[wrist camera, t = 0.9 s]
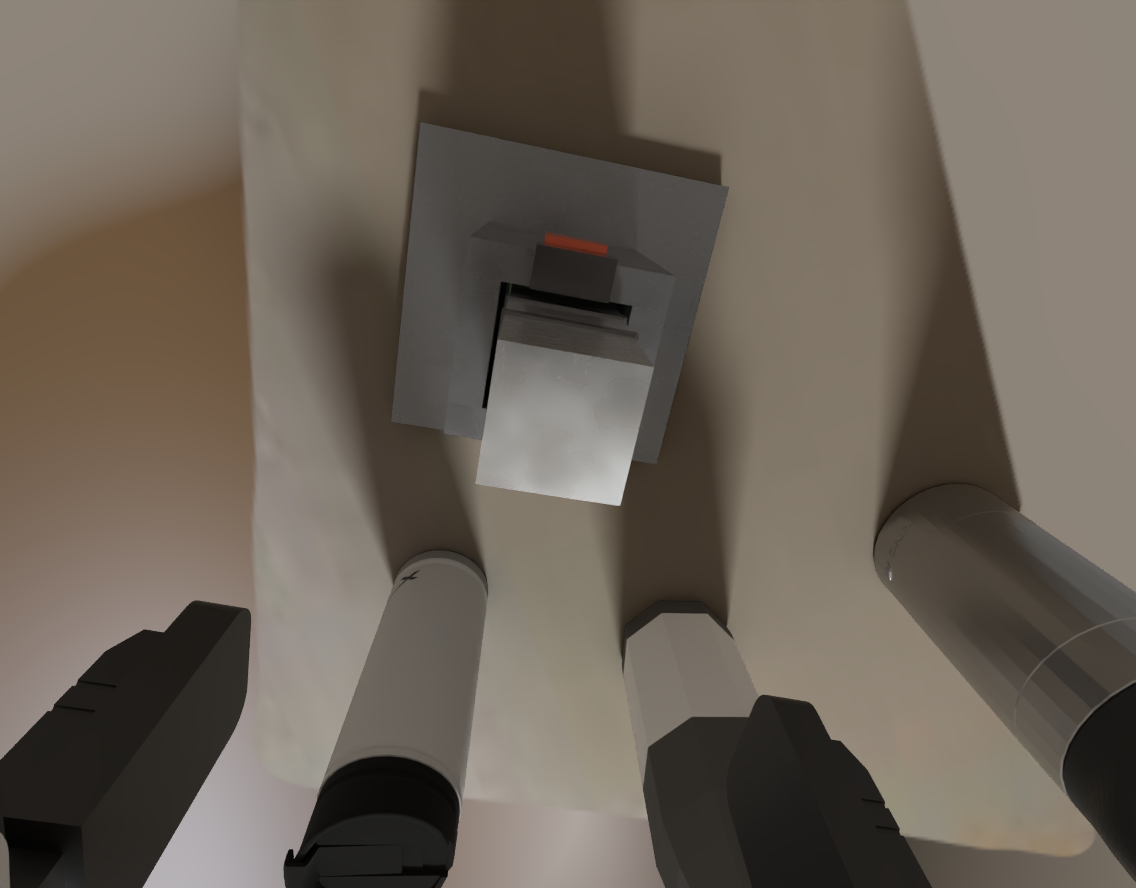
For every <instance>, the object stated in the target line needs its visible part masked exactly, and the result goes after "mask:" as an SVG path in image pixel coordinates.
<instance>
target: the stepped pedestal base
mask: <svg viewBox="0 0 1136 888" xmlns="http://www.w3.org/2000/svg"><path fill="white" fill-rule="evenodd" d="M728 189H729V187H726V186H721V185H716V184H711V183H707V182H702V181H697V180H693V179H688V178H683V177H678V176H674V175H669V174H664V173H660V172H655V171H650V170H645V169H641V168H636V167H631V166H626V165H622V164H617V163H612V162H608V161H603V160H598V159H593V158H589V157H584V156H579V155H575V154H570V153H565V152H560V151H556V150H551V149H546V148H541V147H537V146H532V145H527V144H523V143H518V142H513V141H508V140H504V139H499V138H494V137H490V136H485V135H480V134H475V133H471V132H466V131H461V130H456V129H452V128H447V127H442V126H438V125H433V124H428V123H423V122H420V130H419V140H418V151H417V161H416V171H415V181H414V192H413V202H412V212H411V222H410V233H409V243H408V253H407V263H406V274H405V284H404V294H403V304H402V314H401V325H400V335H399V345H398V355H397V366H396V376H395V386H394V396H393V407H392V417H391V422H395V423H401V424H408V425H414V426H420V427H426V428H433V429H439V430H444V434H448V435H454V436H460V437H466V438H472V439H479V440H482V436H483V429H484V423H485V416H486V410H487V403H488V397H489V390H490V384H491V377H492V371H493V364H494V358H495V351H496V345H497V338H498V332H499V325H500V319H501V312H502V308H504V305H505V299H506V294H509V288H510V283H513V284H518V285H524V286H529V289H534V290H539V291H545V292H550V293H556V294H561V295H566V296H572V297H577V298H582V299H588V300H593V301H598V302H604V303H609V302H613V303H614V305H615V306H616V308H617V310H618V311H619V313H620V314H621V315H625V316H626V317H627V323H626V324H627V325H628V327H629V328H630V330H631V331H633V332H637V333H638V335H639V338H638V343H639V344H640V346H641V347H642V349H643V350H644V352H645V354H646V355H647V357H648V358H649V360H650V361H651V363H652V365H653V366H654V370H653V374H652V378H651V382H650V386H649V390H648V394H647V399H646V403H645V407H644V411H643V415H642V419H641V423H640V427H639V431H638V435H637V439H636V443H635V447H634V451H633V456H632V460H631V461H637V462H644V463H650V464H657V461H658V457H659V453H660V449H661V445H662V441H663V438H664V434H665V430H666V426H667V422H668V419H669V415H670V411H671V407H672V403H673V399H674V396H675V392H676V388H677V384H678V380H679V377H680V373H681V369H682V365H683V361H684V357H685V354H686V350H687V346H688V342H689V338H690V335H691V331H692V327H693V323H694V319H695V315H696V312H697V308H698V304H699V300H700V296H701V292H702V289H703V285H704V281H705V277H706V273H707V270H708V266H709V262H710V258H711V254H712V250H713V247H714V243H715V239H716V235H717V231H718V228H719V224H720V220H721V216H722V212H723V208H724V205H725V201H726V197H727V193H728Z"/></svg>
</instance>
